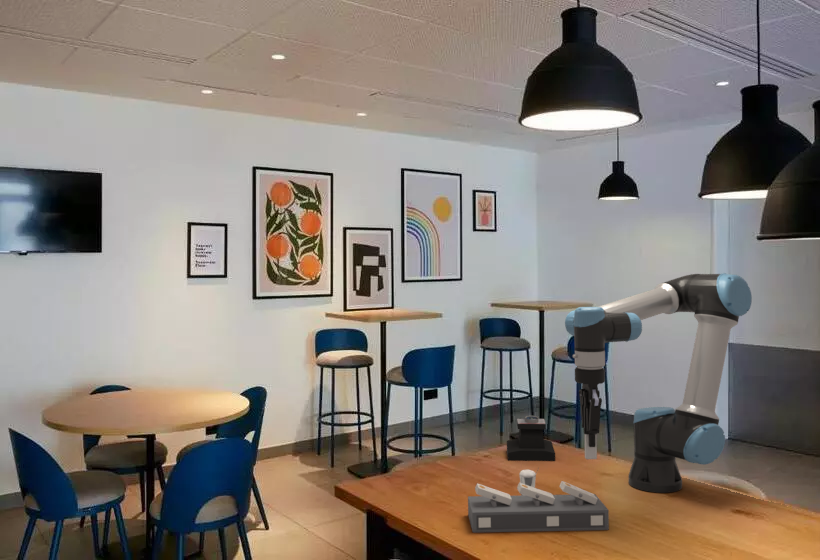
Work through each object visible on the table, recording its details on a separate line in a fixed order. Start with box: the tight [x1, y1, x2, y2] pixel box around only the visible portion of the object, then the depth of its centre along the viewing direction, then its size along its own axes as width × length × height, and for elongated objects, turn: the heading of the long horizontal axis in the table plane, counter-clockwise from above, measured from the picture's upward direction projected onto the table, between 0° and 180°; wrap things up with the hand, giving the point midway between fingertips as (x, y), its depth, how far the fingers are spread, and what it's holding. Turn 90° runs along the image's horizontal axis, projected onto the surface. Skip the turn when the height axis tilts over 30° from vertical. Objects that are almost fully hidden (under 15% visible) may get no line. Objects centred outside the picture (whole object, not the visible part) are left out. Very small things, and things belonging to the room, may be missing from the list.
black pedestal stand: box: [506, 415, 556, 462], centre depth 239 cm, size 16×14×15 cm
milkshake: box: [519, 467, 539, 496], centre depth 191 cm, size 4×5×10 cm
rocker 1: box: [474, 482, 512, 505], centre depth 177 cm, size 9×5×2 cm, turn 91°
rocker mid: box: [516, 482, 555, 504], centre depth 177 cm, size 9×5×2 cm, turn 91°
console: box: [467, 493, 610, 533], centre depth 177 cm, size 34×12×6 cm, turn 90°
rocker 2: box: [559, 480, 598, 504], centre depth 177 cm, size 9×5×2 cm, turn 91°
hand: (590, 458), depth 177 cm, fingers closed
